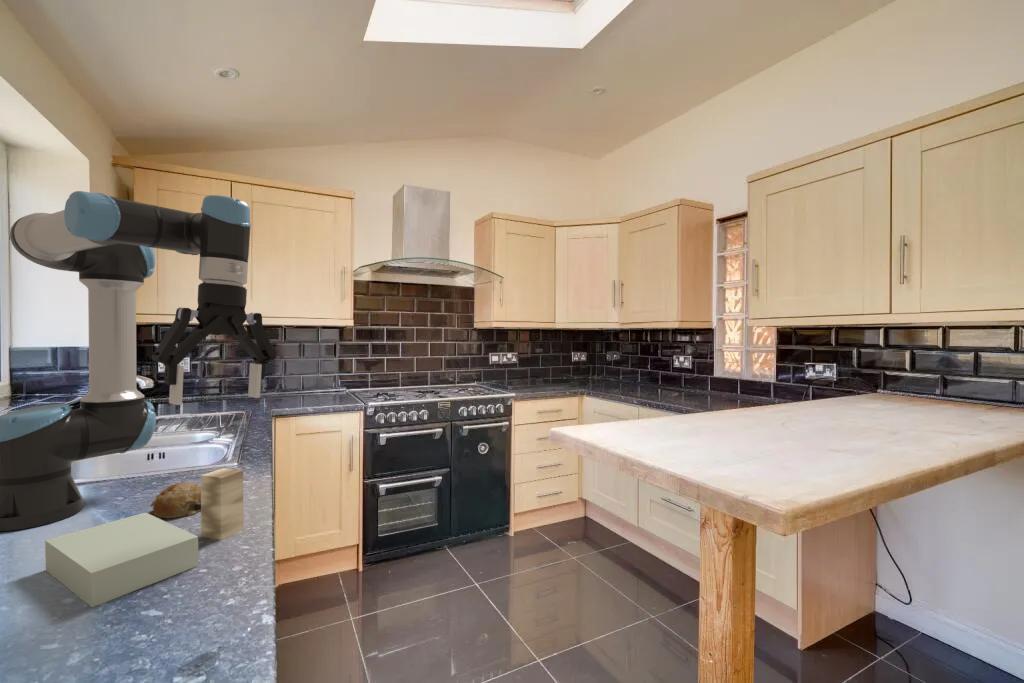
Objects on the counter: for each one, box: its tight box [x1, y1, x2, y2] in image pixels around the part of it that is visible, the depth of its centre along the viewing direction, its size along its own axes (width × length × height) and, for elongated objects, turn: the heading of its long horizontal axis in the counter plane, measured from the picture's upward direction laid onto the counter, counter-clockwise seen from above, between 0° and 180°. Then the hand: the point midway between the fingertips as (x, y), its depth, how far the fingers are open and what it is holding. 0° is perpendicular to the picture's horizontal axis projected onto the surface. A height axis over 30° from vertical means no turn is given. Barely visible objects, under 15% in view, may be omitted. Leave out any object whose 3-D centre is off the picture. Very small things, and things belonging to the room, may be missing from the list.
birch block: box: [200, 467, 244, 541], centre depth 92 cm, size 5×5×12 cm
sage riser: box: [44, 512, 199, 608], centre depth 78 cm, size 20×14×5 cm
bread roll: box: [150, 482, 201, 520], centre depth 103 cm, size 10×10×8 cm
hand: (217, 400), depth 85 cm, fingers open, 13 cm apart
